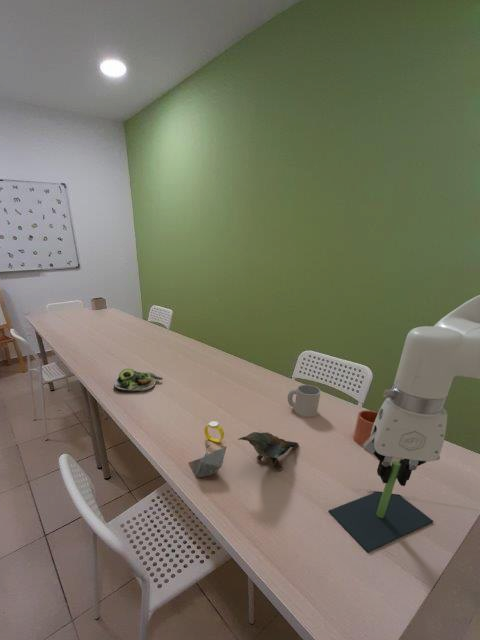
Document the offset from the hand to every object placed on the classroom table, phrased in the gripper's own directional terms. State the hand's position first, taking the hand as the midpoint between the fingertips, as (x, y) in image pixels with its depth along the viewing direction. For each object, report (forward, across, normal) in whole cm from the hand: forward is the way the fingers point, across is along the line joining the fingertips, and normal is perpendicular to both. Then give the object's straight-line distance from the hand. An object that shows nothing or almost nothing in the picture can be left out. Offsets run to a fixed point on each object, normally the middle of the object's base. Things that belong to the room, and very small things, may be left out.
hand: (391, 478), depth 59 cm
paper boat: (+11, -38, +6) cm, 40 cm away
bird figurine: (+11, -23, +13) cm, 28 cm away
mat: (+10, 0, 0) cm, 10 cm away
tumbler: (+10, +4, +27) cm, 29 cm away
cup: (+11, -13, +40) cm, 43 cm away
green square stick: (+10, 0, 0) cm, 10 cm away
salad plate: (+11, -78, +49) cm, 93 cm away
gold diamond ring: (+11, -39, +18) cm, 44 cm away
